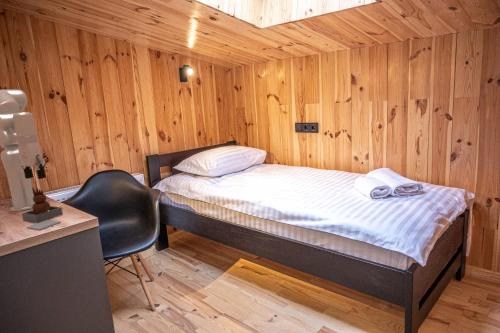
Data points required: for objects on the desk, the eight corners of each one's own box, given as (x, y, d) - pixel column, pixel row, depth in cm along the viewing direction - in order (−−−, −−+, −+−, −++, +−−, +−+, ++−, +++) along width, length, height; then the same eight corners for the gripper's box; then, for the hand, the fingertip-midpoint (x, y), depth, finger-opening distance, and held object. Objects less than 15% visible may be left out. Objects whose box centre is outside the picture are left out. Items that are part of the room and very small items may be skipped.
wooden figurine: (33, 221, 146) (26, 188, 143) (36, 217, 151) (29, 186, 148) (50, 217, 148) (44, 186, 146) (52, 214, 154) (46, 184, 151)
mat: (26, 228, 136) (26, 227, 136) (48, 221, 144) (47, 219, 144) (39, 230, 132) (39, 229, 132) (60, 222, 140) (60, 221, 140)
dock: (23, 220, 147) (21, 212, 146) (48, 212, 157) (47, 204, 157) (37, 223, 142) (35, 214, 142) (62, 214, 153) (61, 206, 152)
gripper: (7, 142, 144) (16, 179, 147) (30, 140, 136) (38, 180, 139) (25, 140, 150) (33, 176, 153) (48, 138, 142) (55, 176, 145)
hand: (35, 178), depth 146 cm, fingers open, 9 cm apart
